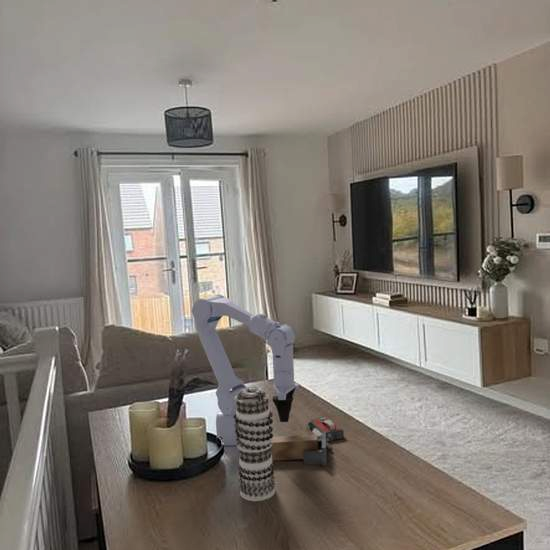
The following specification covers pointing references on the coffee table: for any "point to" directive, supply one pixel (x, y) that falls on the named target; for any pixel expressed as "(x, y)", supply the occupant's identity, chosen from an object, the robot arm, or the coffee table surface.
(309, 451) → the bracket
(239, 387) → the robot arm
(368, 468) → the coffee table surface
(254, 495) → the decorative candle
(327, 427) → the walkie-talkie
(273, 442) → the brown long rectangular block
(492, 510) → the coffee table surface
